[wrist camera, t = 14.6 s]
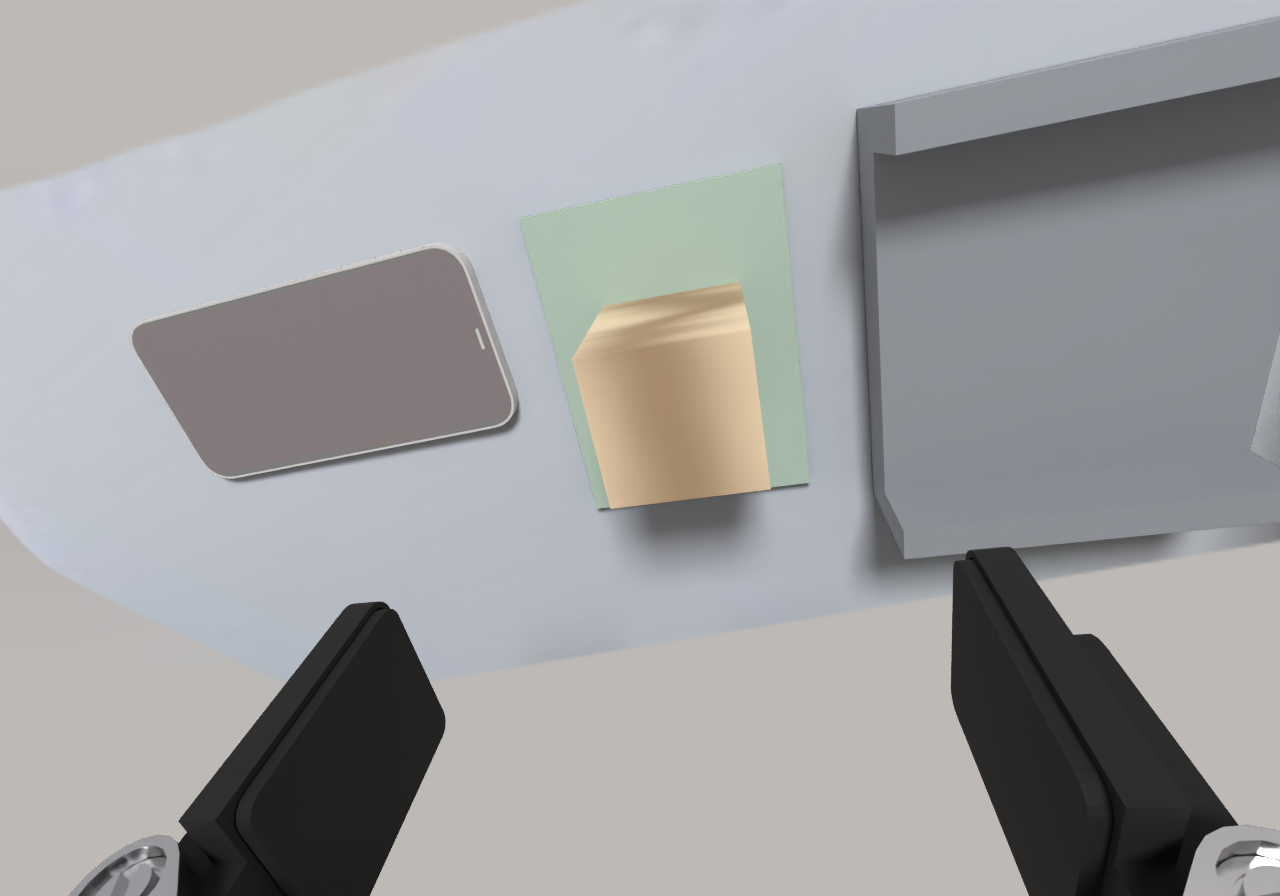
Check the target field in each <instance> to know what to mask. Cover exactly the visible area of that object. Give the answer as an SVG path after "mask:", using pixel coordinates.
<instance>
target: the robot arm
mask: <svg viewBox="0 0 1280 896" xmlns="http://www.w3.org/2000/svg"><path fill="white" fill-rule="evenodd" d="M951 694H952V700H953V705H954V708H955V711H956V714H957V717H958V719H959V722H960V724H961V727H962V729H963V732H964V734H965V736H966V739H967V742H968V744H969V747H970V749H971V752H972V754H973V757H974V759H975V762H976V764H977V767H978V769H979V772H980V774H981V777H982V779H983V782H984V784H985V786H986V789H987V792H988V794H989V797H990V799H991V802H992V804H993V806H994V809H995V812H996V814H997V817H998V819H999V822H1000V824H1001V827H1002V829H1003V832H1004V834H1005V837H1006V839H1007V841H1008V844H1009V847H1010V849H1011V851H1012V854H1013V856H1014V859H1015V862H1016V864H1017V866H1018V869H1019V871H1020V874H1021V877H1022V879H1023V882H1024V884H1025V887H1026V889H1027V892H1028V894H1029V896H1280V831H1278V830H1275V829H1268V828H1263V827H1257V826H1250V825H1240V826H1239V825H1238V824H1237V823H1236V821H1235V820H1234V819H1233V817H1232V816H1231V814H1230V813H1229V812H1228V810H1227V809H1226V808H1225V807H1224V805H1223V804H1222V803H1221V801H1220V800H1219V798H1218V797H1217V796H1216V795H1215V793H1214V792H1213V790H1212V789H1211V787H1210V786H1209V785H1208V783H1207V782H1206V781H1205V779H1204V778H1203V777H1202V775H1201V774H1200V773H1199V771H1198V770H1197V769H1196V767H1195V766H1194V765H1193V763H1192V762H1191V761H1190V759H1189V758H1188V756H1187V755H1186V754H1185V752H1184V751H1183V750H1182V748H1181V747H1180V746H1179V745H1178V743H1177V742H1176V740H1175V739H1174V738H1173V736H1172V735H1171V734H1170V732H1169V731H1168V730H1167V728H1166V727H1165V725H1164V724H1163V723H1162V722H1161V720H1160V719H1159V718H1158V716H1157V715H1156V713H1155V712H1154V711H1153V709H1152V708H1151V707H1150V705H1149V704H1148V702H1147V701H1146V700H1145V699H1144V697H1143V696H1142V694H1141V693H1140V692H1139V690H1138V689H1137V688H1136V686H1135V685H1134V684H1133V682H1132V681H1131V680H1130V678H1129V677H1128V676H1127V674H1126V673H1125V672H1124V670H1123V669H1122V667H1121V666H1120V665H1119V663H1118V662H1117V661H1116V659H1115V658H1114V657H1113V656H1112V654H1111V653H1110V651H1109V650H1108V649H1107V647H1106V646H1105V645H1104V644H1103V643H1102V642H1101V641H1100V640H1099V639H1098V638H1097V637H1095V636H1094V635H1092V634H1081V635H1073V634H1072V633H1071V631H1070V630H1069V628H1068V627H1067V625H1066V624H1065V622H1064V621H1063V619H1062V618H1061V617H1060V615H1059V614H1058V612H1057V611H1056V609H1055V608H1054V607H1053V605H1052V604H1051V602H1050V601H1049V599H1048V598H1047V596H1046V595H1045V594H1044V592H1043V591H1042V589H1041V588H1040V586H1039V585H1038V584H1037V582H1036V581H1035V579H1034V578H1033V576H1032V575H1031V573H1030V572H1029V570H1028V569H1027V568H1026V566H1025V565H1024V563H1023V562H1022V560H1021V559H1020V557H1019V556H1018V555H1017V553H1016V552H1015V551H1014V550H1013V548H1011V547H997V548H986V549H974V550H969V551H967V554H966V560H961V561H955V563H954V568H953V614H952V662H951ZM444 730H445V715H444V712H443V709H442V707H441V705H440V703H439V701H438V699H437V696H436V694H435V692H434V690H433V688H432V686H431V684H430V682H429V679H428V677H427V675H426V673H425V671H424V669H423V667H422V664H421V662H420V660H419V658H418V656H417V654H416V652H415V649H414V647H413V645H412V643H411V641H410V639H409V637H408V634H407V632H406V630H405V628H404V626H403V624H402V622H401V619H400V617H399V615H398V614H397V612H396V611H395V610H393V609H390V608H389V606H388V605H387V604H386V603H384V602H368V603H357V604H351V605H349V606H347V607H346V608H345V609H344V610H343V611H342V613H341V614H340V615H339V617H338V618H337V619H336V620H335V622H334V623H333V624H332V625H331V627H330V628H329V629H328V631H327V632H326V633H325V634H324V636H323V637H322V638H321V640H320V641H319V642H318V643H317V645H316V646H315V647H314V648H313V650H312V651H311V652H310V654H309V655H308V656H307V657H306V659H305V660H304V661H303V663H302V664H301V665H300V666H299V668H298V669H297V670H296V671H295V673H294V674H293V675H292V677H291V678H290V679H289V680H288V682H287V683H286V684H285V686H284V687H283V688H282V689H281V691H280V692H279V693H278V695H277V696H276V697H275V698H274V700H273V701H272V702H271V703H270V705H269V706H268V707H267V708H266V710H265V711H264V712H263V714H262V715H261V716H260V717H259V719H258V720H257V721H256V723H255V724H254V725H253V726H252V728H251V729H250V730H249V732H248V733H247V734H246V735H245V737H244V738H243V739H242V740H241V742H240V743H239V744H238V746H237V747H236V748H235V749H234V751H233V752H232V753H231V755H230V756H229V757H228V758H227V760H226V761H225V762H224V763H223V765H222V766H221V767H220V768H219V770H218V771H217V772H216V774H215V775H214V776H213V777H212V779H211V780H210V781H209V783H208V784H207V785H206V786H205V788H204V789H203V790H202V791H201V793H200V794H199V795H198V797H197V798H196V799H195V801H194V802H193V803H192V804H191V806H190V807H189V808H188V809H187V811H186V812H185V813H184V815H183V816H182V817H181V818H180V820H179V822H180V824H181V825H182V826H183V827H184V829H185V830H186V831H187V833H186V835H185V836H184V837H183V838H182V840H181V841H180V842H179V844H178V842H176V841H175V840H174V839H173V838H172V837H170V836H164V835H155V836H151V837H147V838H143V839H140V840H138V841H136V842H134V843H132V844H130V845H127V846H125V847H123V848H122V849H121V850H119V851H118V852H116V853H114V854H113V855H111V856H110V857H108V858H107V859H105V860H104V861H103V862H102V863H100V864H99V865H98V866H97V867H96V868H95V869H93V870H92V871H91V872H90V873H89V874H88V875H87V876H86V877H85V878H84V879H83V880H82V881H81V882H80V883H79V884H78V885H77V886H76V888H75V889H74V890H73V891H72V892H71V893H70V895H69V896H370V894H371V891H372V889H373V887H374V885H375V883H376V880H377V879H378V876H379V874H380V872H381V870H382V867H383V865H384V863H385V861H386V859H387V857H388V854H389V852H390V850H391V848H392V846H393V844H394V841H395V839H396V837H397V835H398V833H399V830H400V828H401V826H402V824H403V822H404V820H405V817H406V815H407V813H408V811H409V809H410V806H411V804H412V802H413V800H414V798H415V795H416V793H417V791H418V789H419V787H420V784H421V782H422V780H423V778H424V776H425V774H426V772H427V769H428V767H429V765H430V763H431V761H432V758H433V756H434V754H435V752H436V750H437V747H438V745H439V743H440V741H441V739H442V737H443V734H444Z"/></svg>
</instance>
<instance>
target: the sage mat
mask: <svg viewBox="0 0 1280 896" xmlns="http://www.w3.org/2000/svg"><path fill="white" fill-rule="evenodd" d="M519 221H520V224H521V228H522V232H523V235H524V239H525V243H526V247H527V250H528V254H529V258H530V262H531V265H532V269H533V273H534V276H535V280H536V284H537V288H538V291H539V295H540V299H541V303H542V306H543V310H544V314H545V317H546V321H547V325H548V329H549V332H550V336H551V340H552V344H553V347H554V351H555V355H556V359H557V362H558V366H559V370H560V373H561V377H562V381H563V385H564V388H565V392H566V396H567V400H568V403H569V407H570V411H571V414H572V418H573V422H574V426H575V429H576V433H577V437H578V441H579V444H580V448H581V452H582V455H583V459H584V463H585V467H586V470H587V474H588V478H589V482H590V485H591V489H592V493H593V497H594V500H595V504H596V508H597V509H599V508H607V507H610V506H609V502H608V498H607V494H606V490H605V486H604V482H603V479H602V475H601V471H600V467H599V463H598V459H597V455H596V451H595V447H594V444H593V440H592V436H591V432H590V428H589V424H588V420H587V416H586V413H585V409H584V405H583V401H582V397H581V393H580V389H579V385H578V381H577V378H576V374H575V370H574V366H573V362H572V358H573V356H574V355H575V353H576V351H577V350H578V348H579V346H580V344H581V343H582V341H583V339H584V338H585V336H586V334H587V333H588V331H589V329H590V327H591V326H592V324H593V322H594V321H595V319H596V317H597V315H598V314H599V312H600V310H601V309H602V307H603V306H607V305H612V304H618V303H623V302H629V301H635V300H640V299H646V298H651V297H657V296H662V295H668V294H674V293H679V292H685V291H690V290H696V289H701V288H707V287H713V286H718V285H724V284H729V283H735V282H740V284H741V289H742V293H743V298H744V302H745V306H746V311H747V315H748V320H749V324H750V329H751V336H752V344H753V352H754V360H755V368H756V376H757V384H758V392H759V399H760V407H761V415H762V423H763V431H764V439H765V447H766V455H767V463H768V471H769V479H770V487H779V486H787V485H795V484H803V483H811V479H810V468H809V458H808V447H807V436H806V426H805V415H804V404H803V393H802V383H801V372H800V361H799V351H798V340H797V329H796V318H795V308H794V297H793V286H792V275H791V265H790V254H789V243H788V233H787V222H786V211H785V200H784V190H783V179H782V168H781V164H776V165H771V166H766V167H761V168H756V169H752V170H747V171H742V172H737V173H732V174H728V175H723V176H718V177H713V178H709V179H704V180H699V181H694V182H689V183H685V184H680V185H675V186H670V187H665V188H661V189H656V190H651V191H646V192H642V193H637V194H632V195H627V196H622V197H618V198H613V199H608V200H603V201H598V202H594V203H589V204H584V205H579V206H575V207H570V208H565V209H560V210H555V211H551V212H546V213H541V214H536V215H531V216H527V217H522V218H520V219H519Z"/></svg>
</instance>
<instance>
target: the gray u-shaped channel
mask: <svg viewBox="0 0 1280 896" xmlns="http://www.w3.org/2000/svg"><path fill="white" fill-rule="evenodd" d="M857 127H858V150H859V173H860V195H861V218H862V241H863V264H864V286H865V309H866V332H867V355H868V377H869V400H870V423H871V446H872V468H873V491H874V495H875V497H876V499H877V502H878V504H879V506H880V508H881V510H882V512H883V515H884V517H885V519H886V521H887V523H888V525H889V528H890V530H891V532H892V534H893V536H894V538H895V540H896V543H897V545H898V547H899V549H900V551H901V553H902V556H903V558H904V559H914V558H924V557H934V556H944V555H954V554H964V553H967V551H969V550H974V549H986V548H997V547H1011V548H1013V549H1015V548H1025V547H1035V546H1045V545H1055V544H1065V543H1075V542H1085V541H1095V540H1105V539H1115V538H1125V537H1135V536H1146V535H1156V534H1166V533H1176V532H1186V531H1196V530H1206V529H1216V528H1226V527H1236V526H1246V525H1256V524H1266V523H1276V522H1280V468H1279V467H1278V466H1276V465H1274V464H1272V463H1271V462H1269V461H1267V460H1266V459H1264V458H1262V457H1261V456H1259V455H1257V454H1255V453H1254V452H1252V451H1250V449H1251V445H1252V441H1253V437H1254V433H1255V429H1256V425H1257V421H1258V417H1259V413H1260V409H1261V405H1262V401H1263V397H1264V393H1265V389H1266V385H1267V381H1268V376H1269V372H1270V368H1271V364H1272V360H1273V356H1274V352H1275V348H1276V344H1277V340H1278V336H1279V332H1280V17H1276V18H1271V19H1266V20H1262V21H1257V22H1253V23H1248V24H1244V25H1239V26H1235V27H1230V28H1225V29H1221V30H1216V31H1212V32H1207V33H1203V34H1198V35H1193V36H1189V37H1184V38H1180V39H1175V40H1171V41H1166V42H1161V43H1157V44H1152V45H1148V46H1143V47H1139V48H1134V49H1130V50H1125V51H1120V52H1116V53H1111V54H1107V55H1102V56H1098V57H1093V58H1088V59H1084V60H1079V61H1075V62H1070V63H1066V64H1061V65H1056V66H1052V67H1047V68H1043V69H1038V70H1034V71H1029V72H1025V73H1020V74H1015V75H1011V76H1006V77H1002V78H997V79H993V80H988V81H983V82H979V83H974V84H970V85H965V86H961V87H956V88H951V89H947V90H942V91H938V92H933V93H929V94H924V95H919V96H915V97H910V98H906V99H901V100H897V101H892V102H888V103H883V104H878V105H874V106H869V107H865V108H860V109H857Z"/></svg>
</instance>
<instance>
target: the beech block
mask: <svg viewBox="0 0 1280 896" xmlns="http://www.w3.org/2000/svg"><path fill="white" fill-rule="evenodd" d="M572 362H573V366H574V370H575V374H576V378H577V381H578V385H579V389H580V393H581V397H582V401H583V405H584V409H585V413H586V416H587V420H588V424H589V428H590V432H591V436H592V440H593V444H594V447H595V451H596V455H597V459H598V463H599V467H600V471H601V475H602V479H603V482H604V486H605V490H606V494H607V498H608V502H609V506H610V509H614V508H622V507H630V506H639V505H647V504H655V503H663V502H671V501H679V500H688V499H696V498H704V497H712V496H720V495H729V494H737V493H745V492H753V491H761V490H770V489H771V487H770V479H769V471H768V463H767V455H766V447H765V439H764V431H763V423H762V415H761V407H760V399H759V392H758V384H757V376H756V368H755V360H754V352H753V344H752V336H751V329H750V324H749V320H748V315H747V311H746V306H745V302H744V298H743V293H742V289H741V284H740V282H735V283H729V284H724V285H718V286H713V287H707V288H701V289H696V290H690V291H685V292H679V293H674V294H668V295H662V296H657V297H651V298H646V299H640V300H635V301H629V302H623V303H618V304H612V305H607V306H603V307H602V309H601V310H600V312H599V314H598V315H597V317H596V319H595V321H594V322H593V324H592V326H591V327H590V329H589V331H588V333H587V334H586V336H585V338H584V339H583V341H582V343H581V344H580V346H579V348H578V350H577V351H576V353H575V355H574V356H573V358H572Z"/></svg>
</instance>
